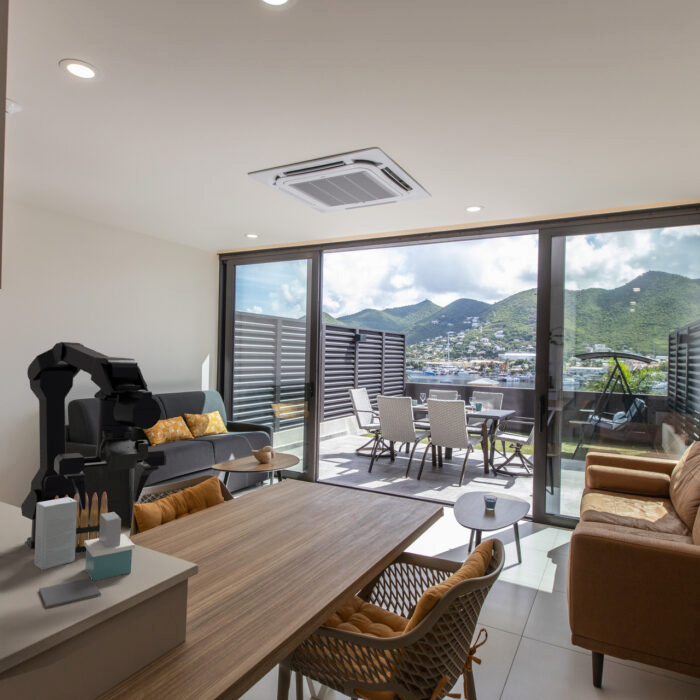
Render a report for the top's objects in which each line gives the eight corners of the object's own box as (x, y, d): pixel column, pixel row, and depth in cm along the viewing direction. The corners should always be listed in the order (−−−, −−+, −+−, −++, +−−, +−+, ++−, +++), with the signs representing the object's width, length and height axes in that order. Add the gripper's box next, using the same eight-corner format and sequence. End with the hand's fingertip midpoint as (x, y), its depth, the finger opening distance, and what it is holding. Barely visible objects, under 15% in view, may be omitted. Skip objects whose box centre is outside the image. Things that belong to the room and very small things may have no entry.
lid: (84, 544, 96) (85, 514, 96) (123, 537, 100) (125, 508, 101) (92, 557, 90) (94, 524, 91) (134, 548, 95) (136, 518, 95)
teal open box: (85, 568, 96) (86, 545, 96) (121, 561, 100) (122, 538, 100) (93, 581, 91) (94, 556, 91) (130, 572, 95) (132, 548, 95)
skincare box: (66, 555, 102) (69, 496, 102) (75, 561, 99) (78, 500, 99) (32, 564, 97) (35, 502, 97) (41, 570, 94) (44, 506, 95)
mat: (39, 590, 86) (39, 588, 86) (90, 579, 91) (90, 577, 91) (46, 608, 81) (46, 606, 81) (100, 595, 86) (100, 593, 86)
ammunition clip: (48, 557, 101) (51, 497, 101) (48, 553, 102) (51, 494, 103) (107, 548, 106) (109, 492, 106) (106, 546, 108) (109, 489, 108)
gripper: (67, 432, 84) (62, 526, 83) (178, 426, 95) (174, 508, 95) (55, 423, 92) (51, 508, 92) (158, 419, 104) (154, 495, 104)
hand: (110, 505), depth 96 cm, fingers open, 9 cm apart
